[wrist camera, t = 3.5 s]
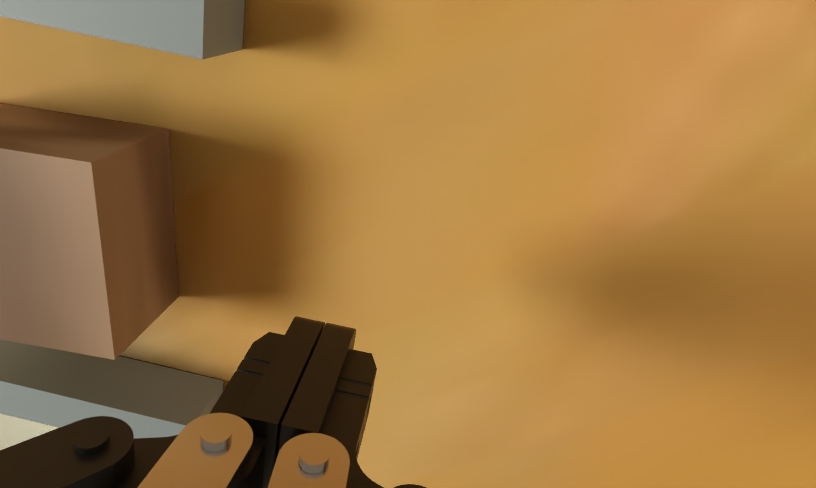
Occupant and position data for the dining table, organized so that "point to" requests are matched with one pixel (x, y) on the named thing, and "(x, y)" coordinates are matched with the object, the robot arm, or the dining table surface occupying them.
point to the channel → (123, 377)
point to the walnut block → (83, 230)
